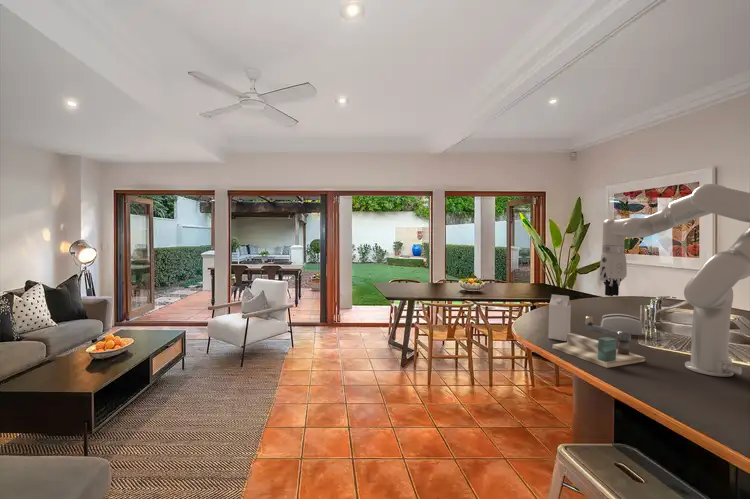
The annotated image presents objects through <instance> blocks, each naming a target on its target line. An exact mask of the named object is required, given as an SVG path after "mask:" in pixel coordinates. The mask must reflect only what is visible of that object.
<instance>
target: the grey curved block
mask: <svg viewBox="0 0 750 499" xmlns="http://www.w3.org/2000/svg"><path fill="white" fill-rule="evenodd" d="M599 326H601V327H605V328H609V329H612V330H616V331H628V332H631V336H632V335H633V336H642V335H643V331H642V321H641V319H640V318H639V317H637V316H634V315H629V314H623V313H609V314H604V315H602V317H601V321H600V325H599Z"/></svg>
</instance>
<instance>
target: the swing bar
mask: <svg viewBox="0 0 750 499" xmlns="http://www.w3.org/2000/svg"><path fill="white" fill-rule="evenodd" d="M584 318H585V321H584V328H583V329H584V330H588V331H591V332H595V333H598V334H601V335H606V336H609V337H611V338H615V339H616V341H618V340H619V341H624V342H629V343H630V342H631V341H632V334H631V332H628V331H616V330H612V329H609V328H605V327H601V326H600V325H598V324H597V325H596V324H593V323H594V322H593V321H594V320H593V319H594V317H593V316H587V315H586V316H585V317H584Z"/></svg>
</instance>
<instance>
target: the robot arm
mask: <svg viewBox="0 0 750 499" xmlns="http://www.w3.org/2000/svg"><path fill="white" fill-rule="evenodd" d="M710 214H715V215H717V216H722V217H725V218H729V219H732V220H736V221H739V222H743V223H750V192H748V191H742V190H739V189H735V188H734V189H733V188H730V187H729V188H728V187H726V186H724V185H720V184H715V183H706V184H703V185H699V186H698V187H697V188H696V187H695V189H694V190H693V191H692V193H690V194H687V195H685V196H683V197H680V198H677V199H675V200H672V201H670V202H669V203H667V204H666V206H665V207H664V208H663V209H662V210H660V211H657V212H655V213H653V214H650V215H647V216H644V217H628V218H607V219H605V220H603V223H602V247H601V248H602V250H601V252H602V253H601V255H600V256H601V257H600V261H599V262H600V263H599V281H602V283H603V286H604V296H608V297H613V296H614V297H615V296H617V297H619V292H620V291H619V289H620V286H621V285H620V284H621V282H622V281H623V280H625V278H626V277H627V276H628V274H627V273H628V272H627V271H628V270H627V269H628V268H627V257H626V253H625V238H628V239H629V238H630V239H635V238H636V239H637V238H647V237H651V236H654V235H656V234H659V233H662V232H666V231H668V230H670V229H673V228H675V227H678V226H680V225H682V224H685V223H688V222H691V221H694V220H696V219H700V218H702V217H705V216H708V215H710ZM748 277H750V225H749V226H748V228H747V229H746V230H745V231H744V232H743V233H742V234H741V235H740V236H739V237H738V238H737V239H736V241H735V242H734V243H733V244H732V245H731V246H730V247H729V248H728V249H727V250H725V251H720V252H718V253H715V254H713V255H712V256H711V257H709V259H707V260H706V261H705V263H703V264H702V266H701V267H700V268H699V269H698V270H697V272H696V273H695V274H694V275H693V276H692V278H691V279H690V280H689V281H688V282H687V283H686V285H685V287H684V289H683V296H684V299H685V300H686V302H687V303H689V304H688V305H691V306H692V307H693V312H692V322H691V324H692V325H691V326H692V327H691V349H690V350H691V351H690V360H688V361H685V362H684V366H685V368H686V369H688V370H690V371H693V372H695V373H698V374H703V375H708V376H711V377H712V376H713V377H723V378H724V377H726V378H727V377H733V376H734V374H735V375H742V373H743V368H742V367H740V366H737V365H733V360H731V359H729V350H730V349H729V346H730V328H731V313H732V306H733V302H734V288H733V287H734V286H736V284H738V282H739V281H741V280H744V279H747V278H748Z"/></svg>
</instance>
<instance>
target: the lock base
mask: <svg viewBox="0 0 750 499" xmlns="http://www.w3.org/2000/svg"><path fill="white" fill-rule="evenodd" d="M552 349H553V350H557V351H559V352H562V353H564V354H567V355H570V356H572V357H575V358H578V359H581V360H584V361H587V362H589V363H592V364H595V365H597V366H599V367H600V366H601V367H603V368H606V369H607V368H614V367H619V366H625V365H632V364H637V363H643V362H645V361H646V357H645V356H642V355H639V354H636V353H632V352H630V342H624V341H619V340H617V338H615V337H611V336H609V337H608V336H606V337H599V338H598V340H597V339H594V338H592V337H591V338H590V337H587V336H583V335H582V334H581V335H580V334H577V333H574V332H573V333H572V332H570V333H569V334H567V341H566V342H561V343H554V344H552Z"/></svg>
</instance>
